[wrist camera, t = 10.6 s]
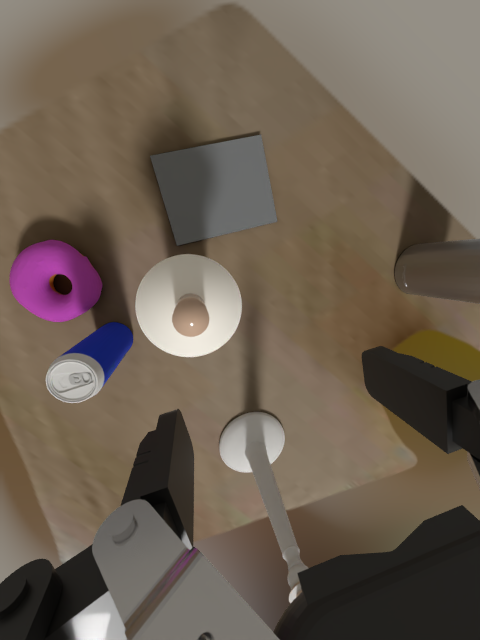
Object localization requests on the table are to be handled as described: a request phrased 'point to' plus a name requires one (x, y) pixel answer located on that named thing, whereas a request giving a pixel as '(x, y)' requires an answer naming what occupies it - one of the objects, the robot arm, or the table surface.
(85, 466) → the table surface
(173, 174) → the mat
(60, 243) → the donut
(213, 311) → the lid
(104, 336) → the beverage can
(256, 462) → the candlestick
